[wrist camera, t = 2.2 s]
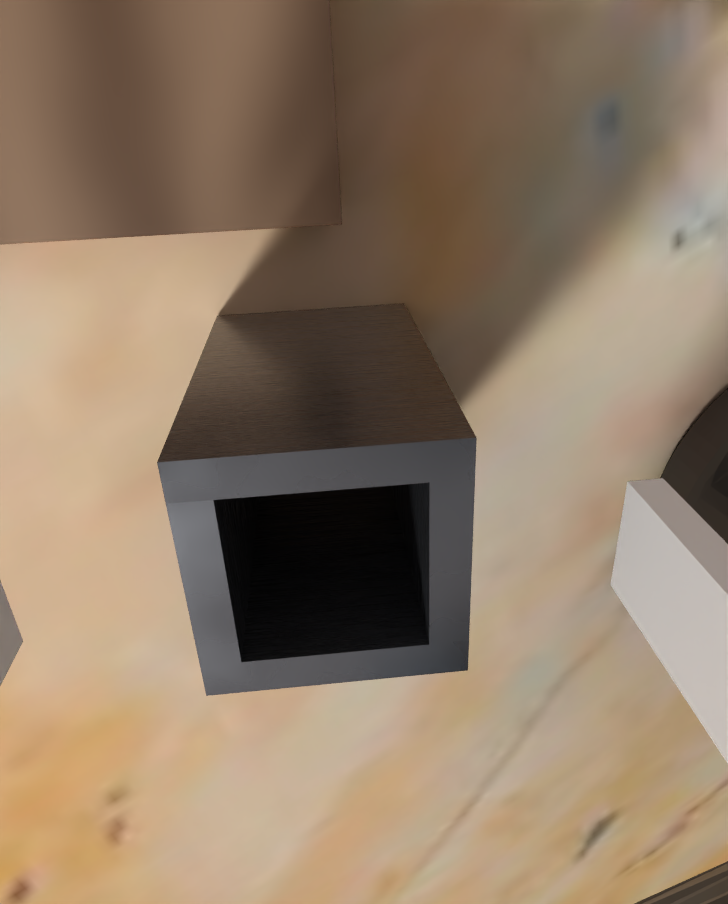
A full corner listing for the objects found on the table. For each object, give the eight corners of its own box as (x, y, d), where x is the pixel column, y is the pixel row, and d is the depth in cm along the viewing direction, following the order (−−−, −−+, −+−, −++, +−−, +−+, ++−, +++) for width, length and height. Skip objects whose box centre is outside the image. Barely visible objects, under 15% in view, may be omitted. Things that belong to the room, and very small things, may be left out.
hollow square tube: (404, 303, 22) (476, 437, 13) (406, 466, 24) (467, 670, 15) (217, 316, 21) (157, 462, 12) (241, 479, 24) (206, 695, 15)
